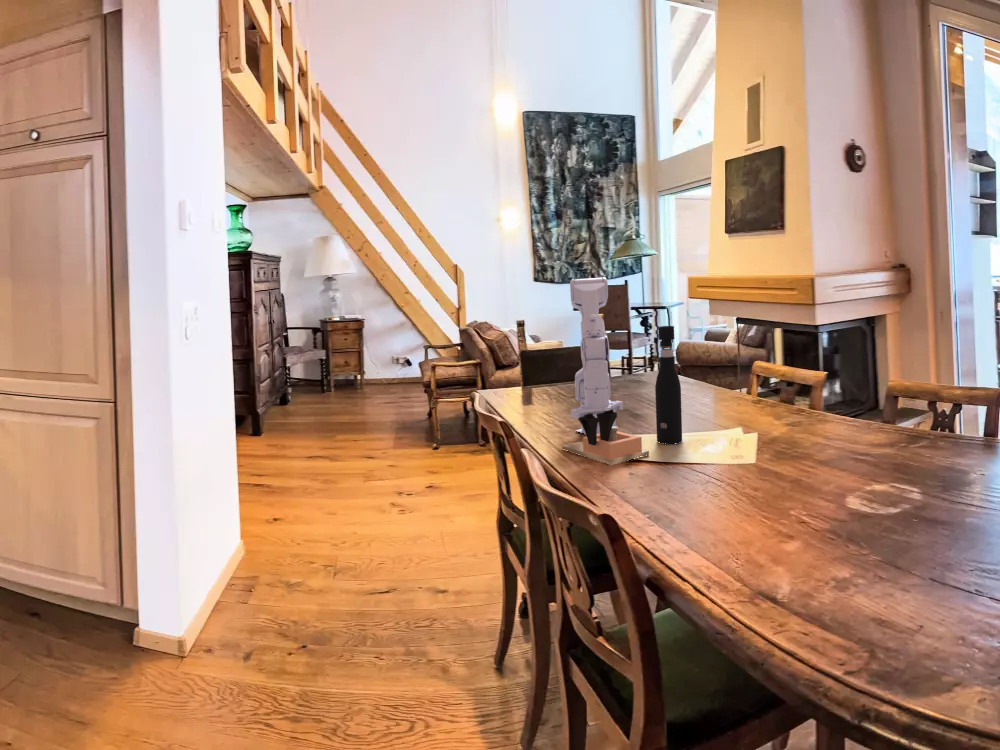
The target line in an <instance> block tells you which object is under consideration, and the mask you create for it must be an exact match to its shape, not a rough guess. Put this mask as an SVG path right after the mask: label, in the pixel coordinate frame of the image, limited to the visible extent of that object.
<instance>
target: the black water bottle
mask: <svg viewBox="0 0 1000 750" xmlns="http://www.w3.org/2000/svg"><path fill="white" fill-rule="evenodd" d="M658 340H660V341H661V348H662V349H660V354H659V355H660V356H659V369H658V373H657V376H656V380H655V386H654V391H655V393H654V395H655V417H656V418H655V420H656V421H655V422H656V423H655V425H656V442H657V441H658V442H660V443H664V444H663V445H667V444H672V445H676V444H675V443H679V442H681V441H682V442H683V427H682V426H683V424H682V423H683V419H682V414H683V413H682V387H681V386H682V385H681V381H680V377H679V374H678V371H677V369H676V361H675V360H676V357H675V356H674V355H675V354H674V349H673V342H672V341H673V340H675V326H674V325H664V326H663V325H662V326H658ZM658 442H657V443H658ZM682 442H681V443H682ZM660 443H659V444H660ZM665 443H666V444H665ZM679 444H680V443H679Z"/></svg>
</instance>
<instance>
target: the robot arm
mask: <svg viewBox="0 0 1000 750" xmlns="http://www.w3.org/2000/svg"><path fill="white" fill-rule="evenodd" d="M569 289H570V290H569V291H570V302H571V306H572V308H573V309H576V310H578V311H579V313H580V315H581V321H580V332H581V340H580V357H581V359H580V360H581V363H582V367H581V369H579V370H578V371H577V372H575V375H574V390H575V392H574V393H575V395H574V396H575V400H577V402H579V403H580V406H579V407H576V408H572V409H570V419H575V420H578V421H579V422H580V424H581V428H579V429H576V430H575V431H577V432H576V433H578V432H580V433H579V434H582V433H584V434H583V435H586V436H587V439H588V442H589V444H590V445H596V443H597V434H599V433H600V439H601V440H604V441H609V437H610V432H611V429H612V426H615V427H617V417H618V412H616V411H617V410H620V411H621V410H624V402H623V401H620V400H614V401H613V400H611V399H610V398H611V397H612V394H611V393H612V392H611V389H612V388H611V380H610V379H611V378H610V373H609V370H608V369H609V368H608V367H609V365H608V364H609V363H608V361H609V360H610V342H609V339H608V335H607V333H606V329H605V328H606V326H605V320H604V319H603V318H602V316H600V314H599V313H600V312H599V311H600V308H603V307H605V306H606V305H607V303H608V298H609V285H608V279H607V278H606V276H603V277H594V278H593V277H591V278H579V279H578V278H577V279H576V278H575V279H574V278H571V280H570V281H569ZM606 359H607V360H606ZM586 436H585V437H586Z"/></svg>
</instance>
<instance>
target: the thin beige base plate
mask: <svg viewBox="0 0 1000 750" xmlns="http://www.w3.org/2000/svg"><path fill="white" fill-rule="evenodd" d="M617 431H619V427H618V426H616V427H615V426H612V429H611V432H610V437H609V442H613V441H617ZM562 449H565V450H568V451H571V452H574V453H577V454H580V455H582V456H585V457H588V458H587V459H589V458H591V459H590V460H592V459H594V460H593V461H595V460H597V461H596V462H598V461H600V462H599V463H601V462H603V463H602V464H604V463H606V464H605V465H607V464H609V465H608V466H610V465H611V466H614V464H615V465H618V463H619V464H622V463H621V462H623V463H626V461H627V462H630V461H629V460H631V459H634V458H637V457H640V456H646V455H649V456H650V451H649V450H647V449H643V448H642V451H640V452H636V453H632V454H628V455H624V456H621V457H617V458H613V459H608V458H605V457H602V456H598V455H595V454H592V453H588V452H585V451H584V450H583V440H582V441H577V442H572V443H567V444H563V445H561V450H562ZM582 456H581V457H582ZM585 457H584V458H585ZM646 457H647V456H646ZM634 460H635V459H634ZM631 461H632V460H631Z"/></svg>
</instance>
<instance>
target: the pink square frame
mask: <svg viewBox="0 0 1000 750" xmlns="http://www.w3.org/2000/svg"><path fill="white" fill-rule="evenodd" d="M582 441H583V450H584V451H585V452H588V453H592V454H595V455H598V456H602V457H605V458H608V459H613V458H617V457H621V456H624V455H628V454H632V453H636V452H640V451H642V449H643V448H642V447H643V444H642V443H643V442H642V441H643V440H642V436H638V435H634V434H631V433H626V432H623V431H619V430H618V431H617V441H613V442H609V441H604V440H601V439H600V433H599V434H597V443H596V445H590V444H589V442H588V439H587V436H583V437H582Z"/></svg>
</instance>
